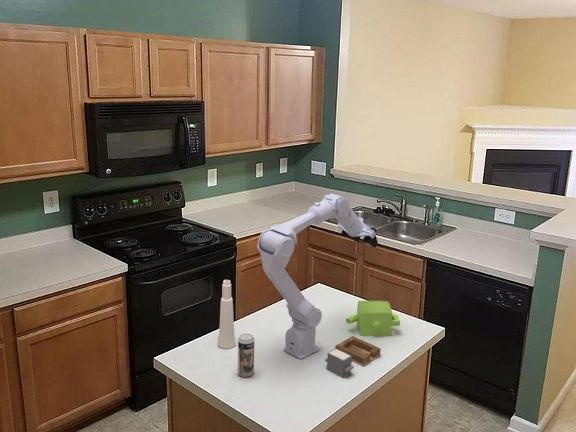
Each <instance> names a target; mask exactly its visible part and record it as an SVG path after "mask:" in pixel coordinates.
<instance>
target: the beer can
mask: <svg viewBox="0 0 576 432" xmlns="http://www.w3.org/2000/svg"><path fill="white" fill-rule="evenodd" d="M255 339H256V338H255V337H254V335H253V334H251V333H241V334H240V335H239V337H238V338H237V353H238V354H237V374H238V376H240V377H242V378H243V377H244V378H248V377H252V376H253V375H254V374H255Z"/></svg>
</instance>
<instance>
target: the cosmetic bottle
mask: <svg viewBox="0 0 576 432" xmlns="http://www.w3.org/2000/svg"><path fill="white" fill-rule="evenodd" d="M222 282H223V283H222V285H221V286H222V287H221V288H222V289H221V291H222V292H221V294H222V297H221V298H220V309H219V310H220V314H219V326H218V327H219V328H218V329H219V330H218V337H217V343H216V345H217V347H219V348H220V349H224V350H228V349H233V348H234V347H236V345H237V342H236V341H237V340H236V335H235V323H234V321H235V320H234V304H233V302H234V301H233V300H234V299H233V297H232V283H231V280H229V279H224V280H223V281H222Z"/></svg>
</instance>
